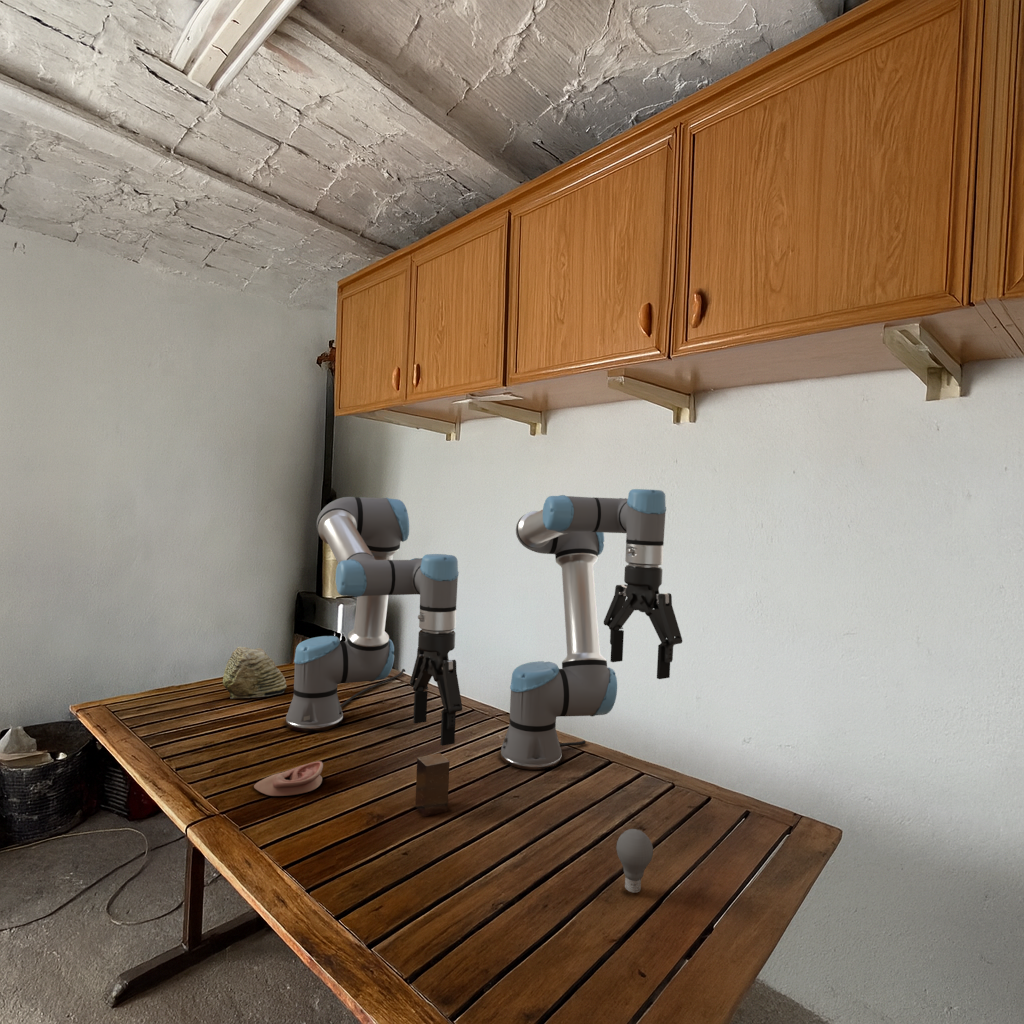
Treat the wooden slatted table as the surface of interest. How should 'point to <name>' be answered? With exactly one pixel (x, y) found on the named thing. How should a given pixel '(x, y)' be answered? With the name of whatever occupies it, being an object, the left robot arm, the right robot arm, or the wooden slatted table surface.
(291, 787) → the anatomical model
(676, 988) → the wooden slatted table surface
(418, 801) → the block
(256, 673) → the fossil
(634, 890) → the light bulb
